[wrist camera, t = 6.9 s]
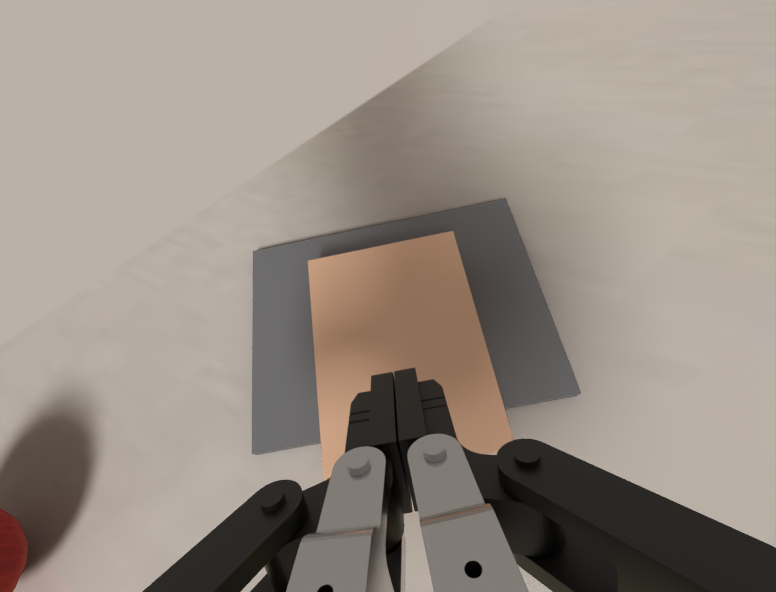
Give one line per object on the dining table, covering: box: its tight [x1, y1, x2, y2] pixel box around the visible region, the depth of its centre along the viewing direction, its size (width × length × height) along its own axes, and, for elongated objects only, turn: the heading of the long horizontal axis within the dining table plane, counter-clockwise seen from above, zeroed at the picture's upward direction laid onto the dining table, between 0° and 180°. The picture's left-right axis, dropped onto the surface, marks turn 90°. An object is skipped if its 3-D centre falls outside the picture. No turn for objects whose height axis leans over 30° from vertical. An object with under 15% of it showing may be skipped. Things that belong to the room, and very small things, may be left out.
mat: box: [252, 198, 581, 455], centre depth 21 cm, size 16×12×1 cm
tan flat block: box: [308, 231, 514, 481], centre depth 19 cm, size 8×2×11 cm
